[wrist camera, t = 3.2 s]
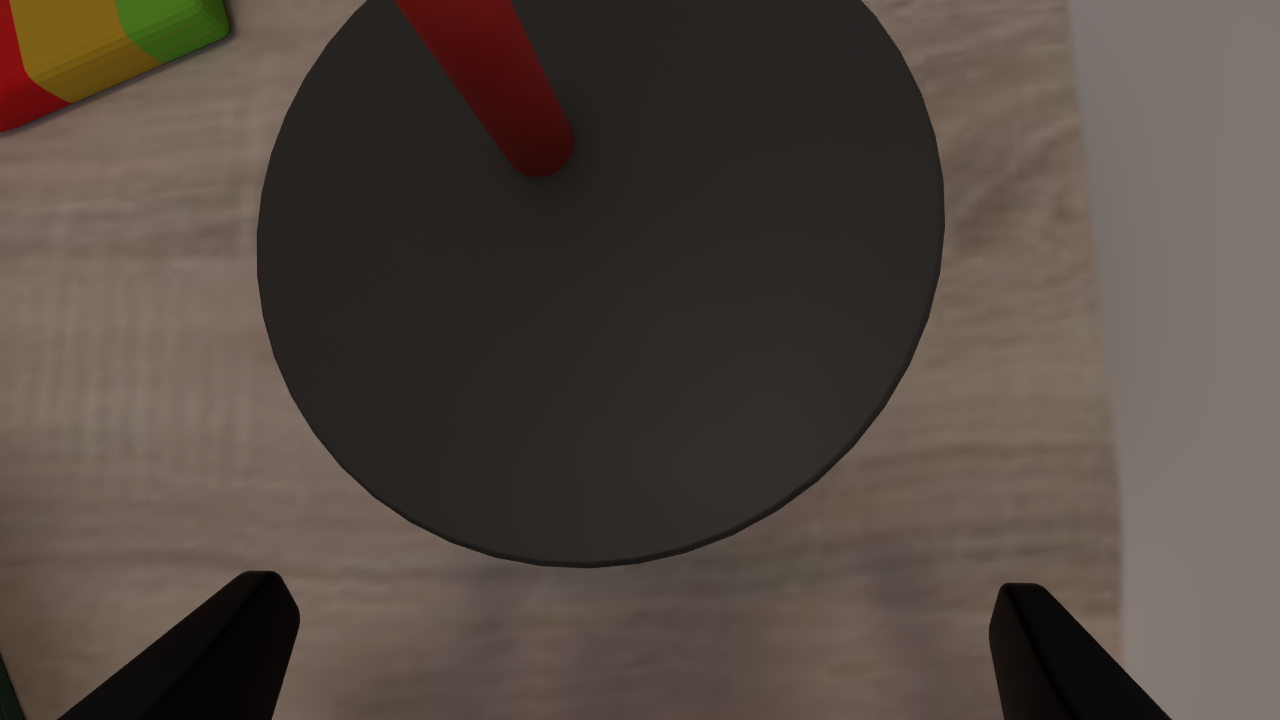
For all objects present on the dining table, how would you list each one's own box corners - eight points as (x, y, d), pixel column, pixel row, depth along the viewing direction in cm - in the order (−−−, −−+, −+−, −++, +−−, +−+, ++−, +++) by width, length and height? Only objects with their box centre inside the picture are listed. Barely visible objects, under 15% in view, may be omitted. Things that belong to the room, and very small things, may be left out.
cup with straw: (866, 426, 20) (2001, -161, 2) (643, 568, 20) (-213, 1238, 2) (721, 218, 21) (607, -1229, 3) (514, 351, 21) (-650, -356, 4)
